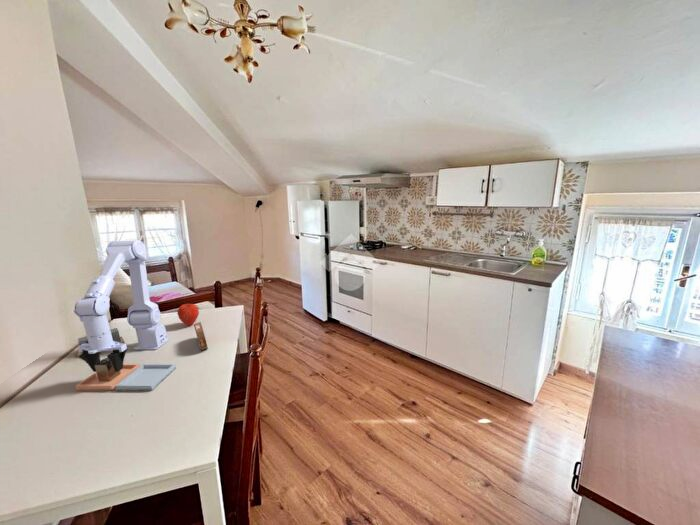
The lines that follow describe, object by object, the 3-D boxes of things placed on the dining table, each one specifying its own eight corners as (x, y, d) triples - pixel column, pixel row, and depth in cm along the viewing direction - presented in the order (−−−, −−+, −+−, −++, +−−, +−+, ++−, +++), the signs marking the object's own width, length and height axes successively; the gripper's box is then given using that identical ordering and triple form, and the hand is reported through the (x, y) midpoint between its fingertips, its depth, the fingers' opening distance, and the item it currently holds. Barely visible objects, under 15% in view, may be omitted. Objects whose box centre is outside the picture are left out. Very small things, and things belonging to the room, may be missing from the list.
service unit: (125, 343, 115) (121, 330, 114) (79, 358, 106) (75, 344, 104) (122, 338, 120) (119, 325, 119) (77, 351, 110) (74, 338, 109)
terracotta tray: (140, 368, 98) (139, 363, 98) (112, 390, 87) (110, 385, 86) (109, 368, 98) (108, 364, 98) (77, 390, 87) (75, 385, 87)
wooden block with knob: (120, 373, 94) (116, 356, 93) (110, 381, 90) (105, 363, 89) (109, 373, 94) (105, 356, 93) (98, 381, 90) (93, 363, 89)
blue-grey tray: (176, 368, 97) (175, 363, 97) (152, 390, 86) (151, 385, 86) (144, 368, 98) (143, 363, 98) (116, 390, 87) (115, 385, 86)
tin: (208, 351, 108) (205, 332, 106) (199, 354, 106) (196, 334, 104) (204, 336, 120) (201, 318, 118) (196, 338, 119) (193, 320, 117)
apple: (203, 320, 136) (200, 300, 133) (195, 328, 127) (191, 307, 125) (185, 321, 135) (182, 301, 133) (176, 329, 127) (172, 307, 125)
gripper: (64, 339, 85) (75, 377, 88) (109, 338, 84) (119, 377, 88) (86, 328, 92) (96, 364, 95) (128, 328, 91) (136, 364, 94)
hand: (108, 370), depth 92 cm, fingers open, 7 cm apart
